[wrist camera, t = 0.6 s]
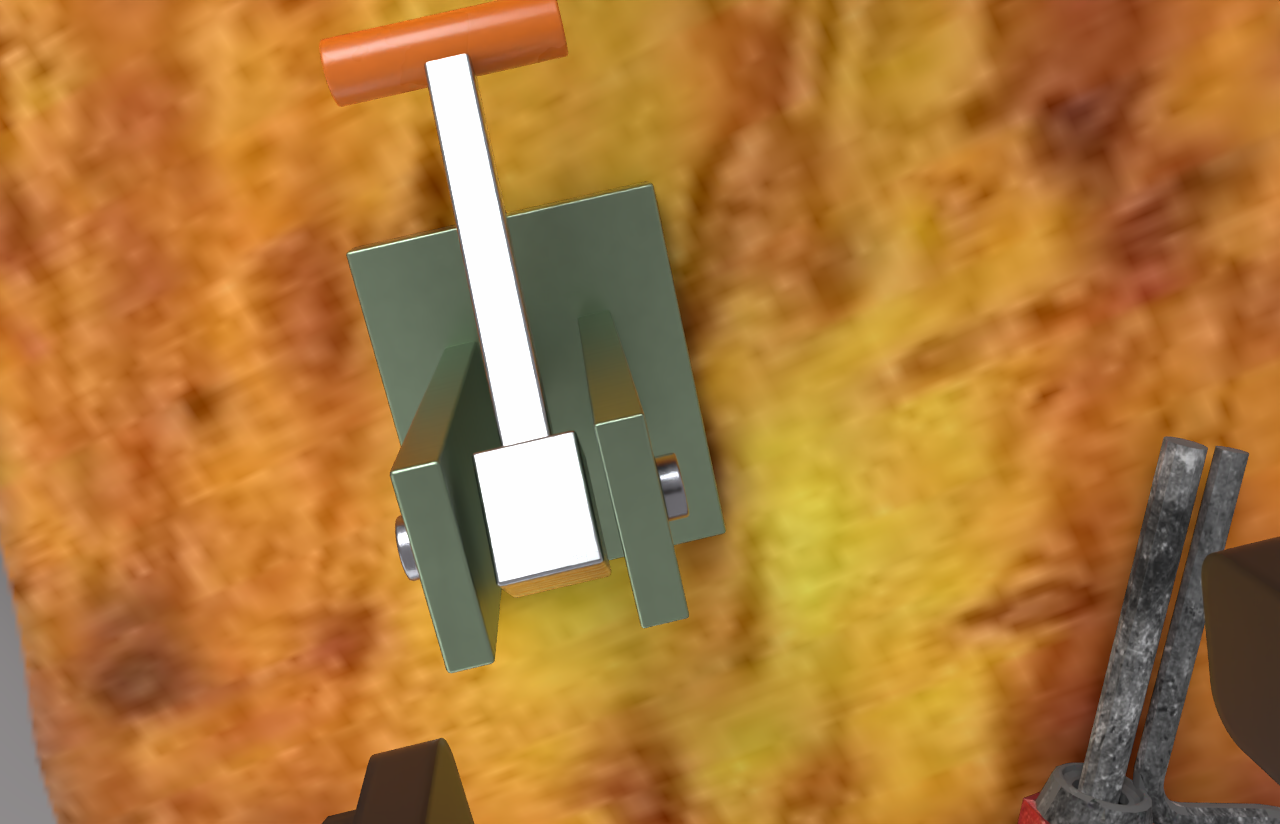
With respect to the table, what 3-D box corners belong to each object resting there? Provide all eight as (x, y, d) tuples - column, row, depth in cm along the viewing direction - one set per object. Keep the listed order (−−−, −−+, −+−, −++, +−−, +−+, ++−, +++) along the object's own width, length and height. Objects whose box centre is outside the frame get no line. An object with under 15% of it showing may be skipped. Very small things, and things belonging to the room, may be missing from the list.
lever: (339, 72, 28) (308, 15, 26) (559, 23, 28) (548, -38, 26) (437, 616, 25) (412, 606, 22) (688, 558, 25) (689, 542, 23)
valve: (1189, 1069, 46) (850, 1086, 42) (1370, 450, 41) (1004, 405, 37) (1314, 1209, 40) (932, 1243, 36) (1543, 502, 35) (1129, 455, 31)
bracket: (351, 247, 34) (231, 328, 21) (649, 180, 34) (711, 219, 21) (447, 584, 36) (393, 838, 24) (721, 520, 37) (815, 738, 24)
